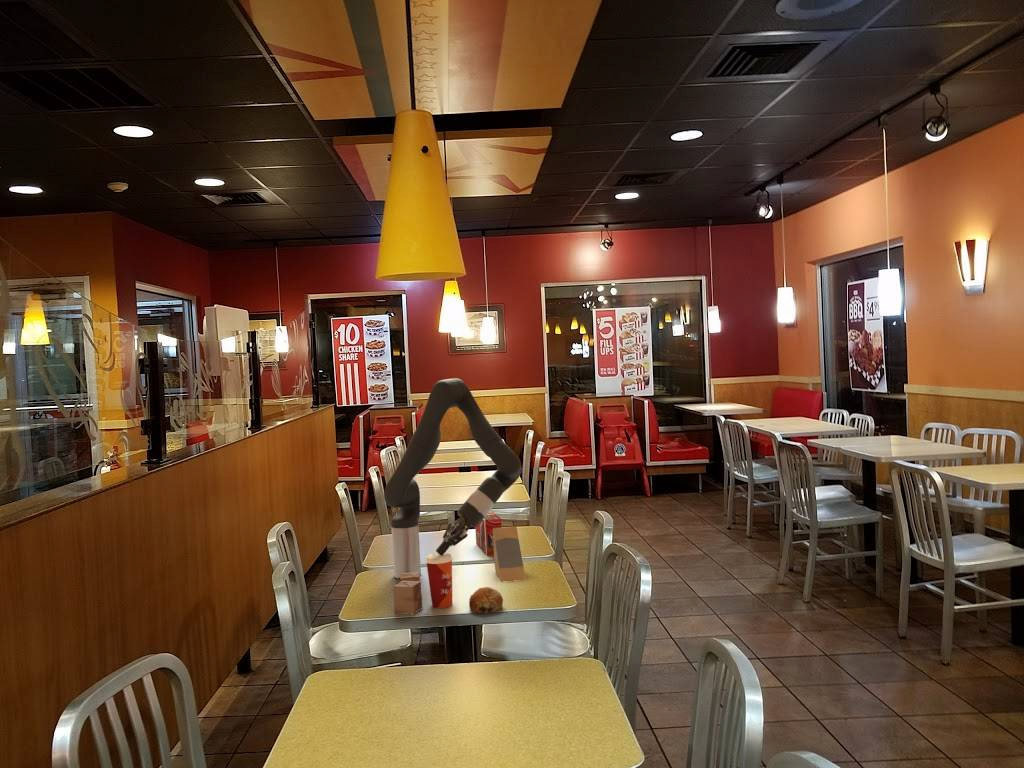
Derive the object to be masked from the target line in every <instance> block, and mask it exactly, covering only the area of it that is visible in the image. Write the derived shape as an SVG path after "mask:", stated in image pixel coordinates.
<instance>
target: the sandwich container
mask: <svg viewBox="0 0 1024 768" xmlns="http://www.w3.org/2000/svg"><path fill="white" fill-rule="evenodd" d="M493 544H494V555H493V556H494V559H493V560H494V570H495V571H496V572H495V571H494V572H495V574H496V573H497V574H496V576H497V575H498V576H497V577H498V579H499V578H500V579H499V581H500V582H501V581H502V582H501V583H504V582H503V581H511V582H515V581H514V580H521V581H525V580H524V579H526V580H527V577H526V571H525V567H524V562H523V557H522V551H521V550H522V549H521V545H520V541H519V532H518V526H504V527H503V526H501V528H493Z"/></svg>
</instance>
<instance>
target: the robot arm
mask: <svg viewBox="0 0 1024 768" xmlns="http://www.w3.org/2000/svg"><path fill="white" fill-rule="evenodd" d="M424 407H425V408H424V410H423V413H422V415H421V416H420V420H418V421H419V422H418V424H417V427H416V428H415V431H414V432H413V434H412V436H411V439H410V440H409V442H408V445H407V447H406V450H405V452H404V454H403V455H402V458H401V459H400V461H399V463H398V466H397V467H396V469H395V470H394V472H393V474H392V475H391V477H389V480H388V482H387V483H386V486H385V487H384V488H385V489H384V492H383V498H384V502H385V503H386V505H387V506H388V507H390V508H399V511H398V512H397V513H396V514H395V515H394V516H393V517H392V518H391V519H390V525H391V543H392V544H391V545H392V562H393V563H392V564H393V577H394V578H395V579H399V578H400V573H409V572H419V574H420V576H421V575H422V571H421V569H422V567H421V549H420V534H419V533H420V527H419V519H420V515H421V494H420V493H421V492H420V488H419V487H420V486H419V484H418V482H417V481H416V479H414V478H415V477H416V476H417V475H418V474H419V473H420V472H422V470H423V469H425V468H426V467H427V466H428V464H429V463H431V461H432V459H433V458H434V456H435V454H436V453H437V451H438V448H439V445H440V443H441V436H442V435H441V424H442V421H443V419H444V416H445V415H446V413H447V411H448V410H449V409H451V408H457V409H459V410H460V411H461V413H463V415H464V416H465V418H466V420H467V422H468V425H469V430H470V433H471V436H472V439H473V440H474V441H475V443H476V444H477V446H478V447H479V448H480V449H481V451H482V452H483V453H484V454H485V456H487V457H488V458H490V459H491V461H492V462H493V463H494V465H495V466H496V468H497V469H496V471H495V472H493V474H492V475H491V476H489V477H488V476H487V478H485V479H484V480H483V481H482V482H481V483H480V485H479V486H478V487H477V489H475V490H474V492H473V493H472V494H470V495H469V496H468V498H467V499H466V500H465V502H464V503H463V504H462V505H461V506H460V507H459V509H458V510H457V512H456V513H457V516H458V518H457V519H456V520H454V522H453V523H449V524H448V525H447V527H446V529H445V532H444V533H443V536H442V542H441V544H439V546H438V547H437V548H436V549H435V553H438V554H440V555H441V556H442V555H443V554H444V553H447V550H448V549H449V548H450V547H455V546H457V545H458V544H459V543H460V542H462V541H463V540H465V539H466V538H468V536H469V534H468V532H469V529H470V528H471V527H472V528H474V529H475V528H476V527H477V526H478V525H479V524H480V522H481V521H482V520H483V519H484V518H485V516H486V515H487V514H488V513H489V511H490V510H491V511H492V508H493V507H494V505H495V504H496V503H497V501H498V500H499V499H500V498H501V496H503V494H504V493H505V492H506V491H507V490H508V489H509V488H510V487H512V485H514V484H515V483H516V482H517V480H518V479H519V478H520V476H521V474H522V470H523V468H522V467H523V466H522V463H521V459H520V458H519V456H518V455H517V454H516V453H515V451H513V450H512V448H511V447H510V446H509V445H507V444H506V443H505V442H504V440H503V438H502V437H501V436H500V435H499V434H498V432H497V431H496V430H495V428H494V427H493V426H492V425H491V423H490V422H489V421H488V419H487V418H486V416H485V415H484V413H483V411H482V409H481V408H480V406H479V403H477V401H476V399H475V397H474V395H473V394H472V392H471V390H470V389H469V387H468V385H467V384H466V383H465V382H464V381H463V380H462V379H460V378H457V377H456V378H455V377H453V378H448V379H447V378H446V379H441V380H438V381H437V382H436V383H435V384H433V386H432V388H431V390H430V393H429V395H428V399H427V401H426V404H425V406H424Z"/></svg>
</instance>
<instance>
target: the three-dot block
mask: <svg viewBox="0 0 1024 768" xmlns="http://www.w3.org/2000/svg"><path fill="white" fill-rule="evenodd" d="M393 598H394V599H393V600H394V601H393V603H394V614H398V613H415V612H416V611H418V610H419V609H420V610H422V609H423V595H422V581H421V580H420V581H401V582H400V581H399V583H397V584H394V585H393ZM421 608H422V609H421ZM420 610H419V611H420ZM419 611H418V612H419ZM416 613H417V612H416ZM416 613H415V614H416Z"/></svg>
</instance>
